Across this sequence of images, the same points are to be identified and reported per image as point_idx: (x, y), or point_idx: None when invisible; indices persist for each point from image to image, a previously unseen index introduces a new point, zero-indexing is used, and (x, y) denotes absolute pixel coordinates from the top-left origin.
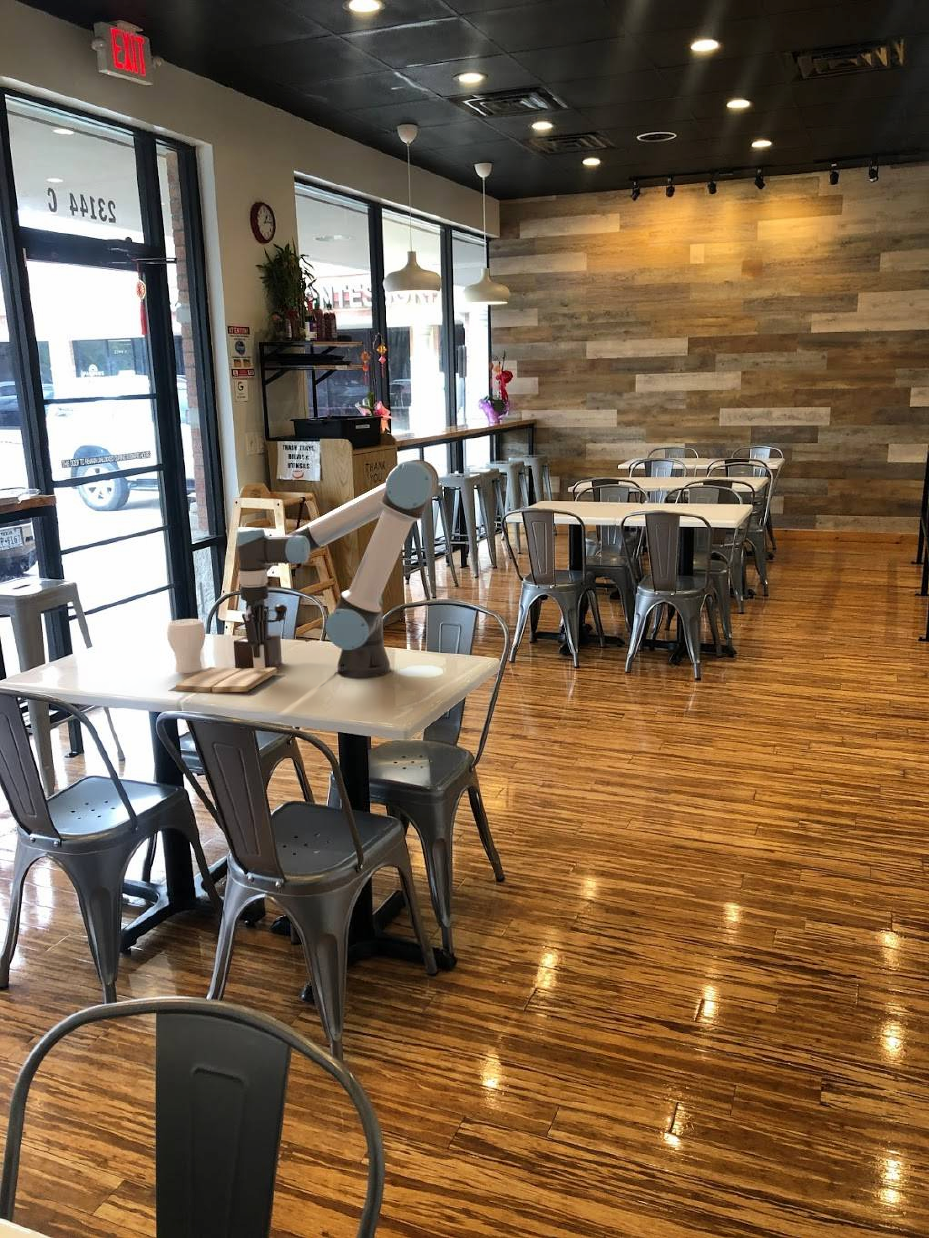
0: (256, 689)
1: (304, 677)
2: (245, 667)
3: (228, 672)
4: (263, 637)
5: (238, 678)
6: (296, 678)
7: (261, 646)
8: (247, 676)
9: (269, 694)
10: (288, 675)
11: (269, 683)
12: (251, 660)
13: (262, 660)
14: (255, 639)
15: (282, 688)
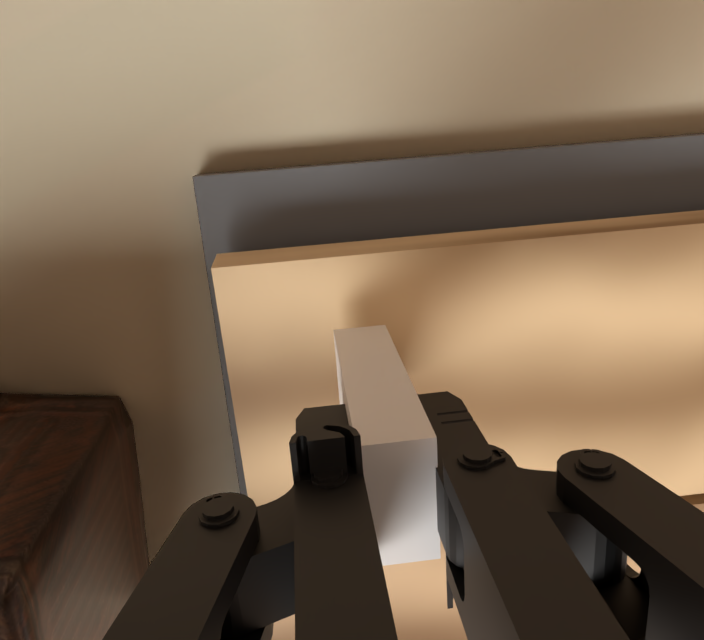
0: (681, 192)
1: (95, 10)
2: (134, 583)
3: (399, 586)
4: (325, 528)
5: (590, 415)
6: (156, 74)
7: (431, 435)
8: (537, 373)
9: (689, 65)
10: (87, 200)
11: (490, 178)
12: (111, 578)
13: (395, 355)
14: (696, 508)
15: (500, 42)
